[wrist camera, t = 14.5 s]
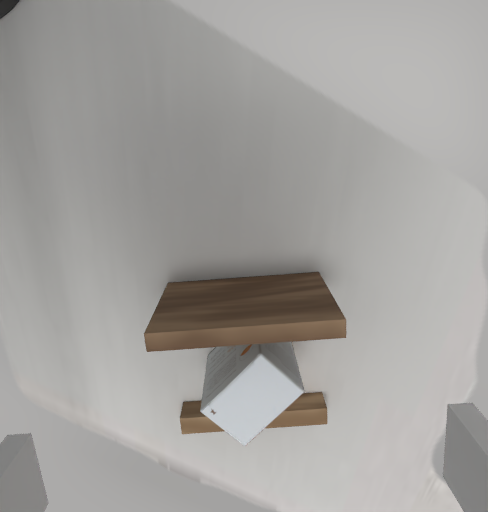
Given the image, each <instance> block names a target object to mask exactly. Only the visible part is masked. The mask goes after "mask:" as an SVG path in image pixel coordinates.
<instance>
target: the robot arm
mask: <svg viewBox="0 0 488 512" xmlns="http://www.w3.org/2000/svg"><path fill="white" fill-rule="evenodd" d="M17 2H18V0H0V18H1V17H3V16H4V15H5V14H6V13H8V12H9V11H10V10H11V9H12V8H13V7H14V5H15V4H16V3H17ZM443 477H444V479H445V481H446V482H447V484H448V486H449V488H450V489H451V491H452V493H453V494H454V496H455V498H456V499H457V501H458V503H459V504H460V506H461V508H462V509H463V511H464V512H488V420H487V419H486V418H485V417H484V416H483V415H482V413H481V412H480V411H479V410H478V409H477V408H476V406H475V405H474V404H473V403H461V404H448V409H447V424H446V438H445V454H444V468H443ZM47 505H48V499H47V495H46V491H45V487H44V483H43V480H42V475H41V471H40V467H39V463H38V459H37V455H36V451H35V447H34V443H33V439H32V435H31V433H30V434H16V435H7V436H6V437H5V439H4V440H3V441H2V442H1V444H0V512H44V511H45V509H46V507H47Z"/></svg>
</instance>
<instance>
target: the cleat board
mask: <svg viewBox="0 0 488 512" xmlns="http://www.w3.org/2000/svg"><path fill="white" fill-rule="evenodd" d="M144 337H145V344H146V350H147V352H151V351H165V350H180V349H194V348H208V347H222V346H236V345H250V344H264V343H278V342H292V341H306V340H320V339H334V338H346V318H345V317H344V315H343V313H342V312H341V310H340V308H339V306H338V305H337V303H336V301H335V299H334V298H333V296H332V294H331V292H330V291H329V289H328V287H327V285H326V284H325V282H324V280H323V278H322V277H321V275H320V273H319V272H311V273H298V274H284V275H270V276H256V277H242V278H229V279H215V280H201V281H187V282H173V283H168V284H167V286H166V288H165V290H164V293H163V295H162V297H161V299H160V301H159V303H158V305H157V307H156V309H155V312H154V314H153V316H152V318H151V320H150V322H149V324H148V326H147V328H146V331H145V333H144ZM201 402H202V401H190V402H183V406H182V411H181V416H180V423H181V430H182V434H191V433H205V432H220V431H224V430H223V429H222V428H221V427H219V426H218V425H217V424H215V423H214V422H213V421H212V420H210V419H209V418H208V417H207V416H205V415H204V414H203V413H202V412H200V409H201ZM321 424H327V407H326V404H325V401H324V397H323V394H322V392H319V393H304V394H302V395H301V396H300V397H298V398H297V399H296V400H295V401H294V402H293V403H292V404H291V405H290V406H289V407H287V408H286V409H285V410H284V411H283V412H282V413H281V414H280V415H279V416H278V417H277V418H275V419H274V420H273V421H272V422H271V423H270V424H269V425H268V426H267V427H266V428H277V427H292V426H306V425H321Z"/></svg>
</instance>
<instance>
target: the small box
mask: <svg viewBox="0 0 488 512" xmlns="http://www.w3.org/2000/svg"><path fill="white" fill-rule="evenodd" d="M303 393H304V387H303V383H302V379H301V376H300V372H299V368H298V364H297V360H296V357H295V353H294V349H293V346H292V342H278V343H264V344H250V345H236V346H222V347H216V348H215V349H214V350H213V351H212V352H211V353H210V354H209V355H208V358H207V365H206V373H205V380H204V387H203V395H202V402H201V409H200V412H202V413H203V414H204V415H205V416H207V417H208V418H209V419H210V420H212V421H213V422H214V423H215V424H217V425H218V426H219V427H221V428H222V429H223V430H224V431H226V432H227V433H228V434H229V435H231V436H232V437H233V438H235V439H236V440H237V441H238V442H240V443H241V444H243V445H244V446H246V445H247V444H248V443H249V442H250V441H251V440H253V439H254V438H255V437H256V436H257V435H258V434H259V433H260V432H261V431H262V430H263V429H265V428H266V427H267V426H268V425H269V424H270V423H271V422H272V421H273V420H274V419H275V418H277V417H278V416H279V415H280V414H281V413H282V412H283V411H284V410H285V409H286V408H287V407H289V406H290V405H291V404H292V403H293V402H294V401H295V400H296V399H297V398H298V397H300V396H301V395H302V394H303Z"/></svg>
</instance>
